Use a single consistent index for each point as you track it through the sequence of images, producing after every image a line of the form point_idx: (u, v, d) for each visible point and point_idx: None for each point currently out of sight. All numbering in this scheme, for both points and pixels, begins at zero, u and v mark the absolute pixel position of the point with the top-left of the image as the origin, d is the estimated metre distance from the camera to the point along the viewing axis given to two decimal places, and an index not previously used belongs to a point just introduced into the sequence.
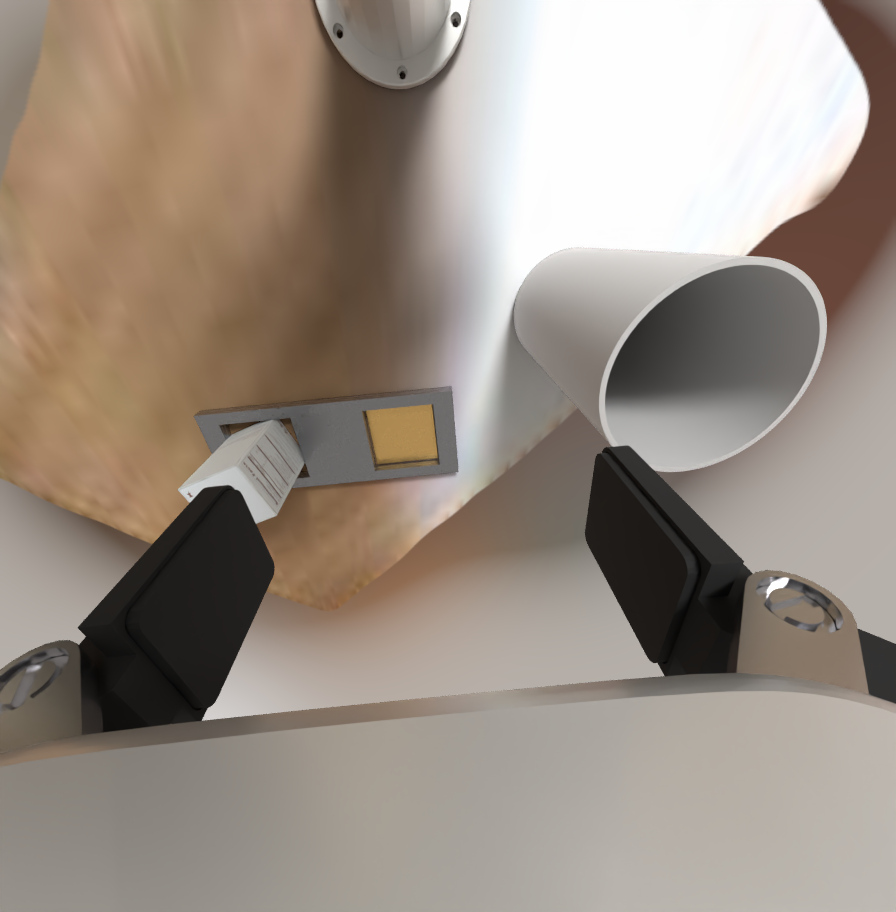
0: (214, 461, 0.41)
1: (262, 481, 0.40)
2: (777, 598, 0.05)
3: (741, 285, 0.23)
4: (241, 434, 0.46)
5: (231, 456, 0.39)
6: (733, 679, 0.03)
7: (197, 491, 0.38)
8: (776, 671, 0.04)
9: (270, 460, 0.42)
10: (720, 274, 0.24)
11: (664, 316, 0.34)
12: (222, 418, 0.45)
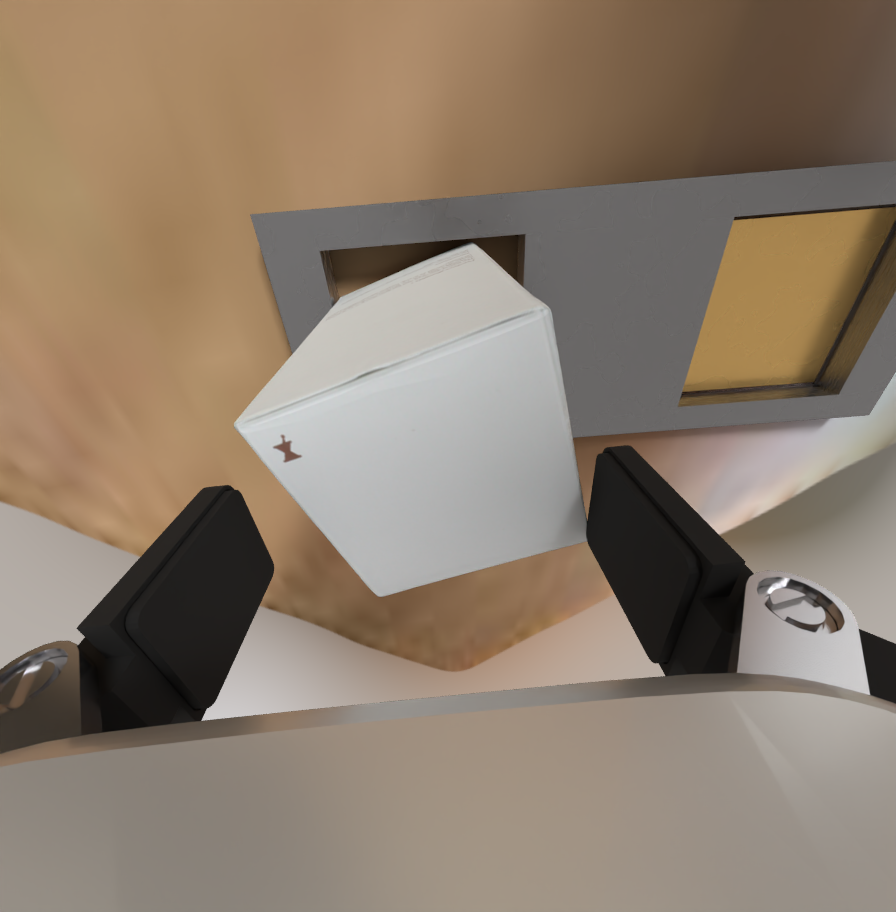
0: (356, 329, 0.11)
1: None
2: (778, 598, 0.05)
3: None
4: (389, 281, 0.16)
5: (444, 300, 0.10)
6: (733, 679, 0.03)
7: (322, 438, 0.08)
8: (778, 671, 0.04)
9: None
10: None
11: None
12: (332, 227, 0.16)
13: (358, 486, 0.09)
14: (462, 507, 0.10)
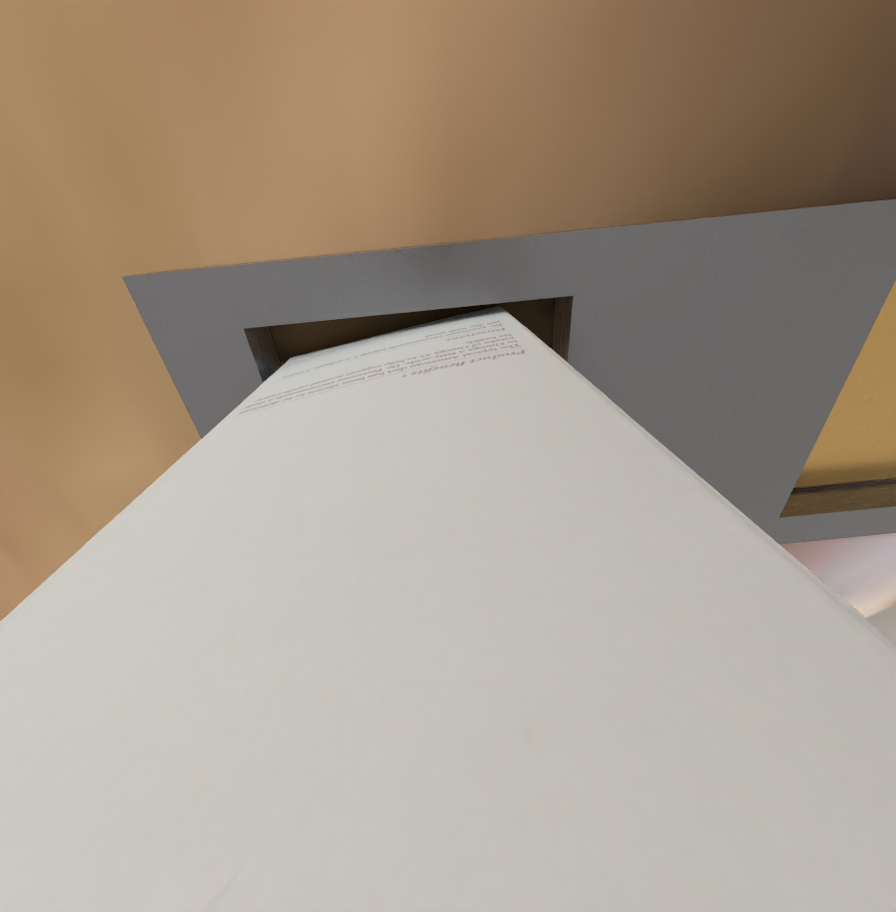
0: (256, 509, 0.04)
1: None
2: None
3: None
4: (367, 353, 0.09)
5: (494, 503, 0.03)
6: None
7: None
8: None
9: None
10: None
11: None
12: (261, 293, 0.10)
13: None
14: None
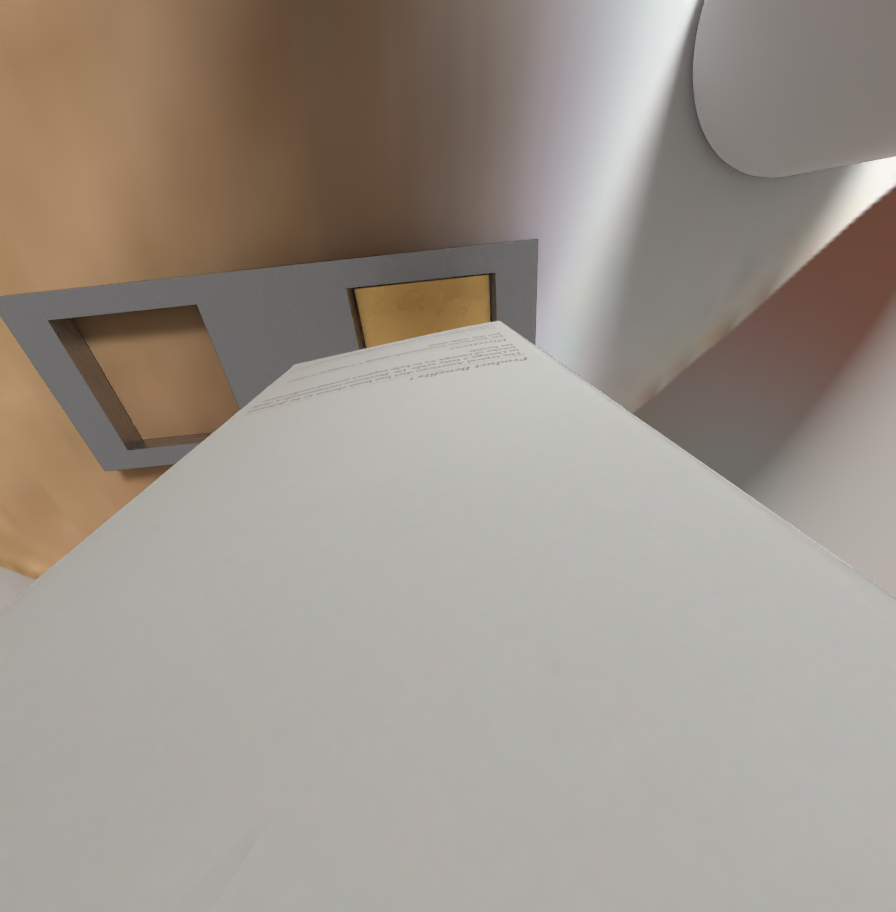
0: (274, 492, 0.04)
1: None
2: None
3: None
4: (372, 360, 0.10)
5: (509, 483, 0.04)
6: None
7: None
8: None
9: None
10: None
11: None
12: (51, 304, 0.22)
13: None
14: None
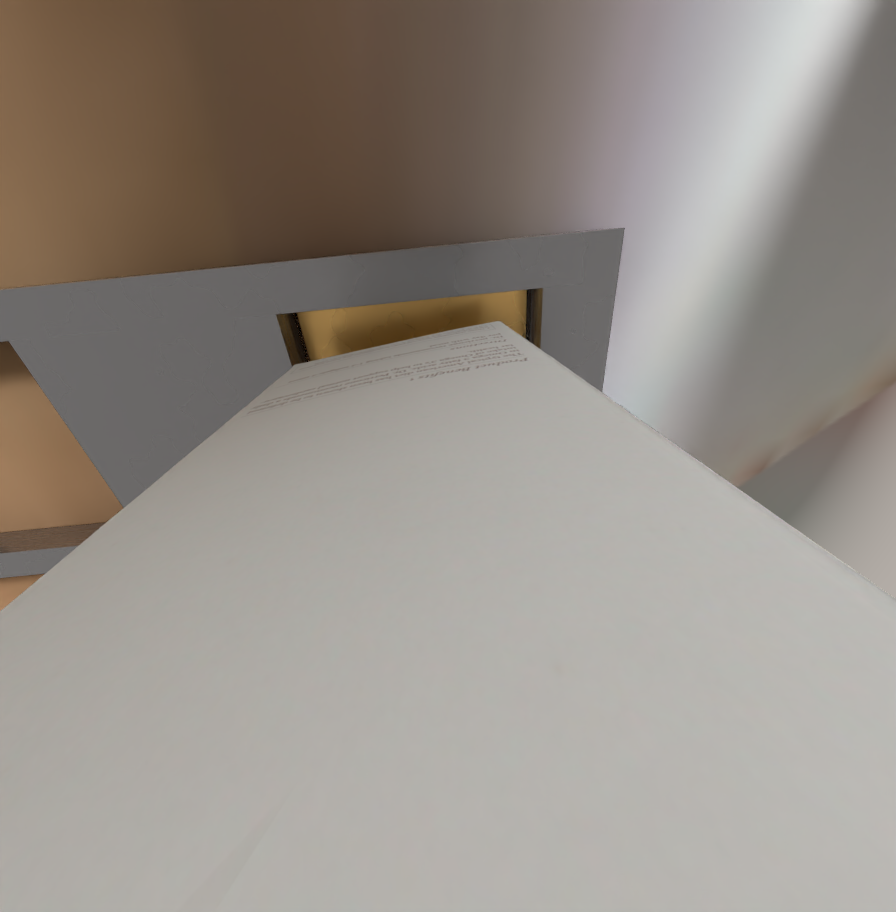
0: (274, 493, 0.04)
1: None
2: None
3: None
4: (372, 361, 0.10)
5: (510, 484, 0.04)
6: None
7: None
8: None
9: None
10: None
11: None
12: None
13: None
14: None
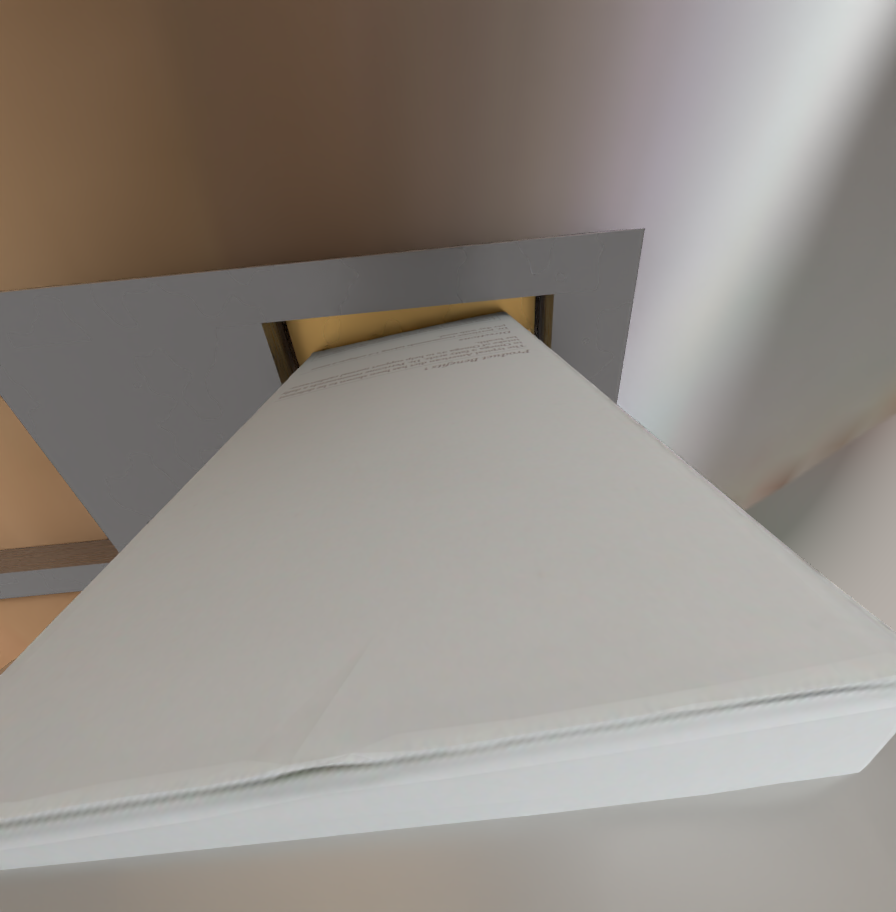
0: (320, 465, 0.05)
1: None
2: None
3: None
4: (387, 350, 0.11)
5: (511, 457, 0.05)
6: None
7: None
8: None
9: None
10: None
11: None
12: None
13: None
14: None
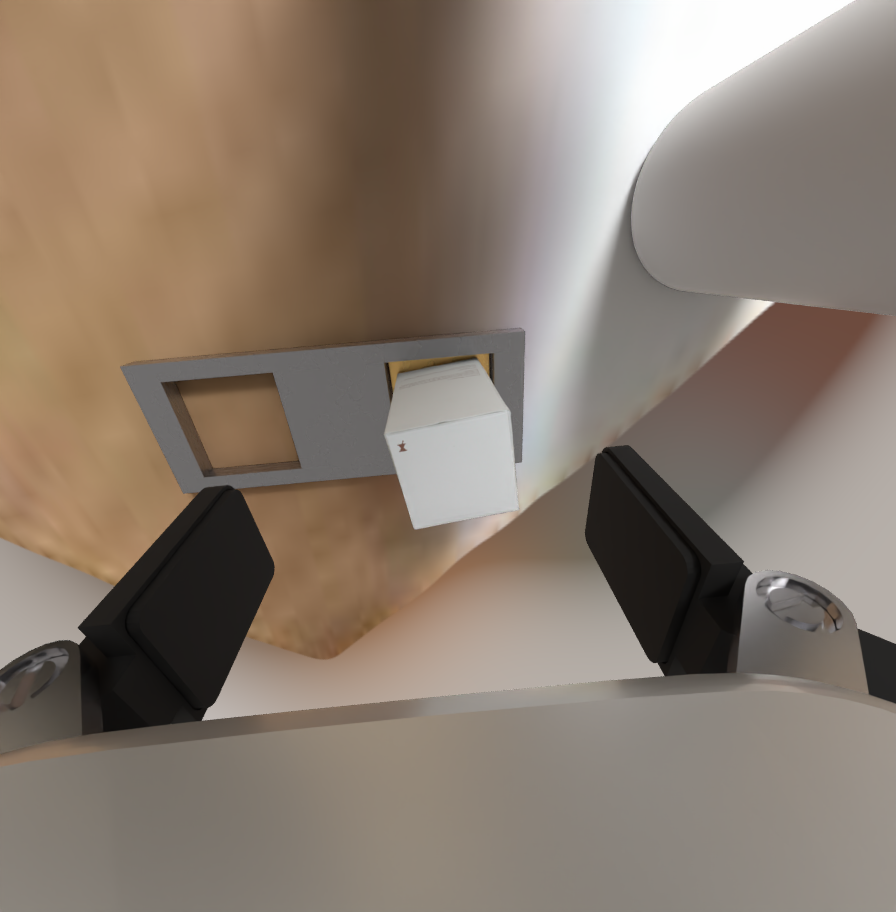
0: (426, 400, 0.24)
1: None
2: (777, 598, 0.05)
3: None
4: (432, 373, 0.29)
5: (469, 396, 0.23)
6: (732, 679, 0.03)
7: (418, 444, 0.21)
8: (776, 671, 0.04)
9: None
10: None
11: None
12: (165, 371, 0.29)
13: (425, 466, 0.22)
14: (466, 483, 0.22)
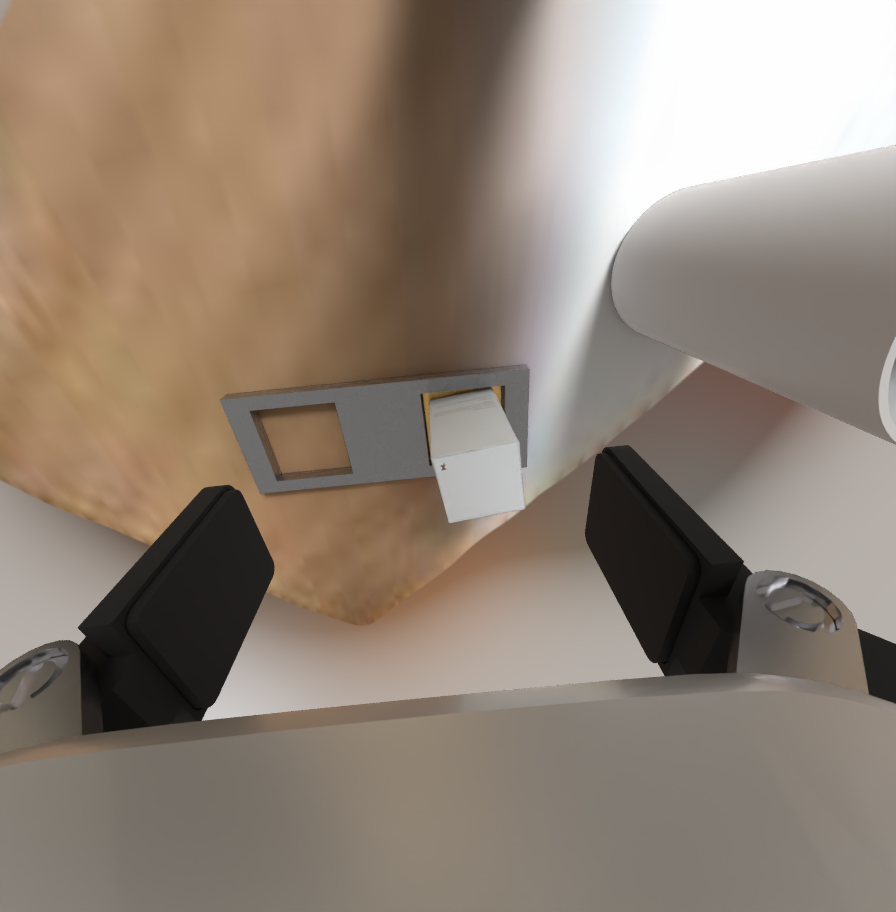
0: (457, 430, 0.33)
1: None
2: (777, 598, 0.05)
3: None
4: (458, 402, 0.38)
5: (488, 428, 0.32)
6: (733, 678, 0.03)
7: (454, 465, 0.30)
8: (776, 671, 0.04)
9: None
10: None
11: None
12: (253, 402, 0.38)
13: (458, 480, 0.31)
14: (487, 490, 0.31)
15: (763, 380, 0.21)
